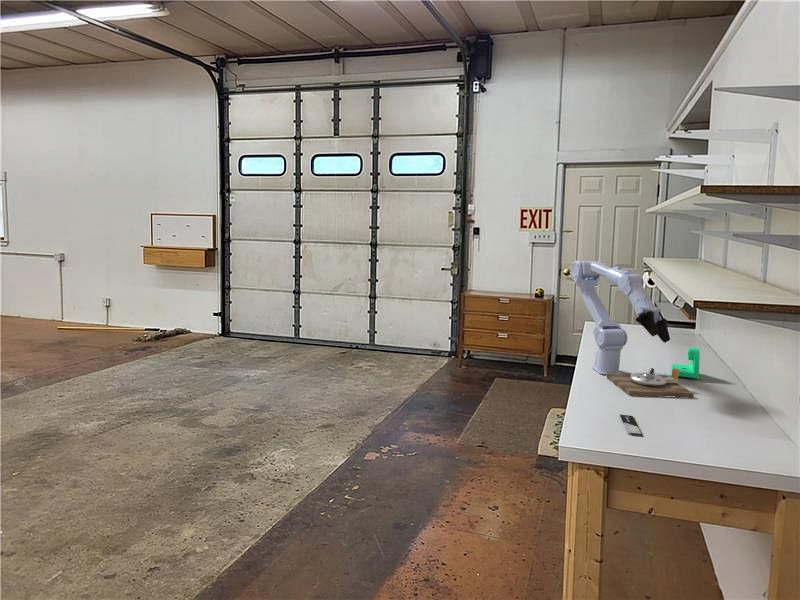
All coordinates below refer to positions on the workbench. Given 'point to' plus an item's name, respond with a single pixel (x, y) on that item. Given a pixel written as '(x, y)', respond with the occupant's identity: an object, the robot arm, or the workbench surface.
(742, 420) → the workbench surface
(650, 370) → the dowel pin
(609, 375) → the fixture board
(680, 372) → the camera mount
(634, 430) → the computer memory module
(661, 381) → the flange plate
